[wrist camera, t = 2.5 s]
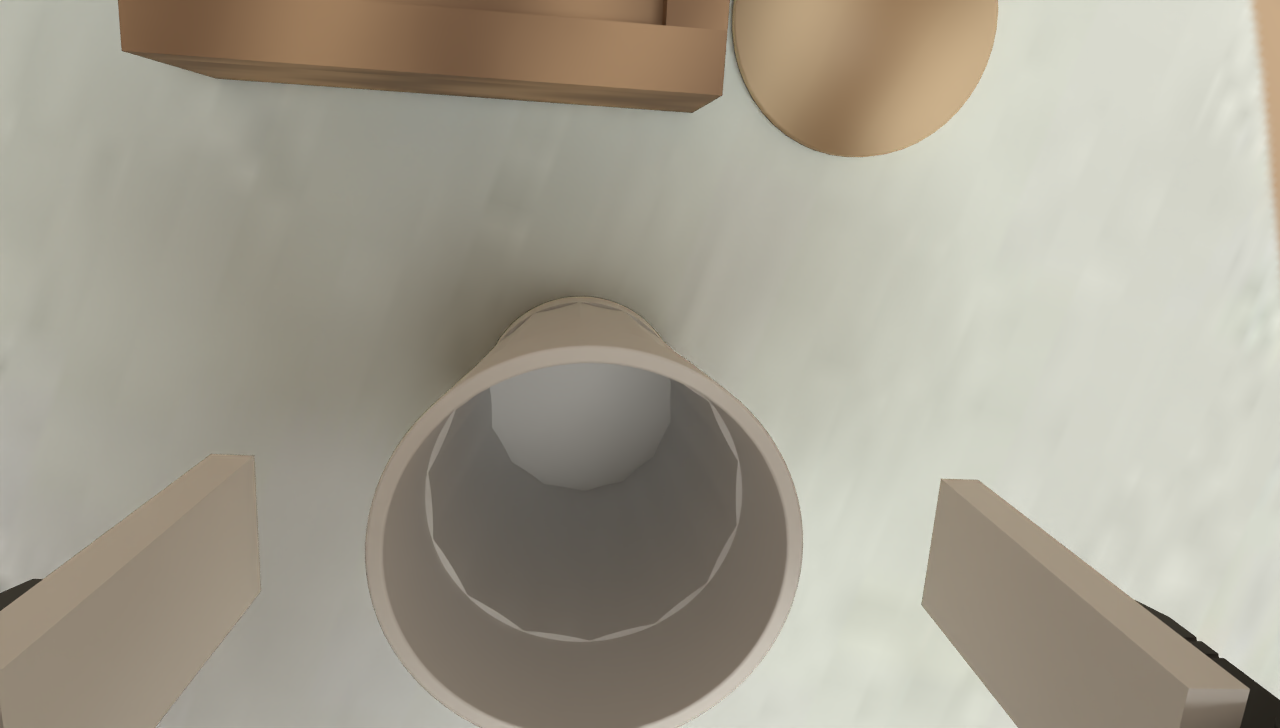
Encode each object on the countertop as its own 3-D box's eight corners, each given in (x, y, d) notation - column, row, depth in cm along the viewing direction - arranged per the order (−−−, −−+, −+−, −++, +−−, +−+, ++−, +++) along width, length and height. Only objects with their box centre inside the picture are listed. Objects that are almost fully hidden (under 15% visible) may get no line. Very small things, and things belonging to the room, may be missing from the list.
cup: (532, 223, 25) (499, 260, 13) (746, 346, 26) (885, 478, 15) (414, 437, 26) (287, 644, 14) (624, 543, 27) (664, 809, 16)
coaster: (721, 148, 25) (725, 147, 24) (744, -137, 23) (749, -146, 22) (967, 164, 26) (976, 164, 25) (1007, -110, 24) (1018, -118, 23)
